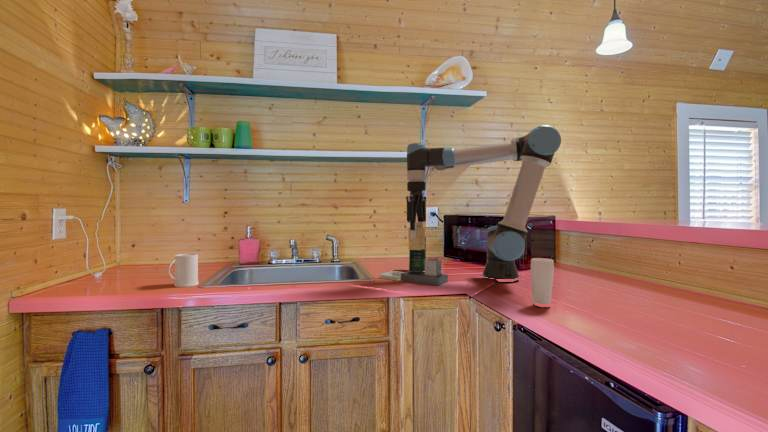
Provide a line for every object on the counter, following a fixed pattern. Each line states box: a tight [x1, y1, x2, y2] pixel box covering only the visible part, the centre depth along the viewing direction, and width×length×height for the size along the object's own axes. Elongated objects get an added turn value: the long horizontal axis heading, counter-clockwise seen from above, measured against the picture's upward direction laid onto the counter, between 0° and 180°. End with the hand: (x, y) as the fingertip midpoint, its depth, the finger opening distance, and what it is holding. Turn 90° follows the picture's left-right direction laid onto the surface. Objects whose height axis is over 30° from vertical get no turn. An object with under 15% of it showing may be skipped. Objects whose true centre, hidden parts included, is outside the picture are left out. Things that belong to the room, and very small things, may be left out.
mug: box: [167, 253, 200, 288], centre depth 144 cm, size 12×8×12 cm
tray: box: [378, 270, 405, 281], centre depth 160 cm, size 9×11×2 cm
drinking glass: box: [530, 257, 555, 304], centre depth 117 cm, size 7×7×15 cm
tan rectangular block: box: [407, 225, 426, 250], centre depth 153 cm, size 5×5×10 cm
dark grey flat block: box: [400, 270, 449, 287], centre depth 151 cm, size 17×9×4 cm, turn 57°
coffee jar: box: [408, 236, 427, 272], centre depth 177 cm, size 10×8×19 cm
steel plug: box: [425, 257, 443, 277], centre depth 149 cm, size 5×5×10 cm
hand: (416, 237), depth 153 cm, fingers closed on tan rectangular block, 5 cm apart
